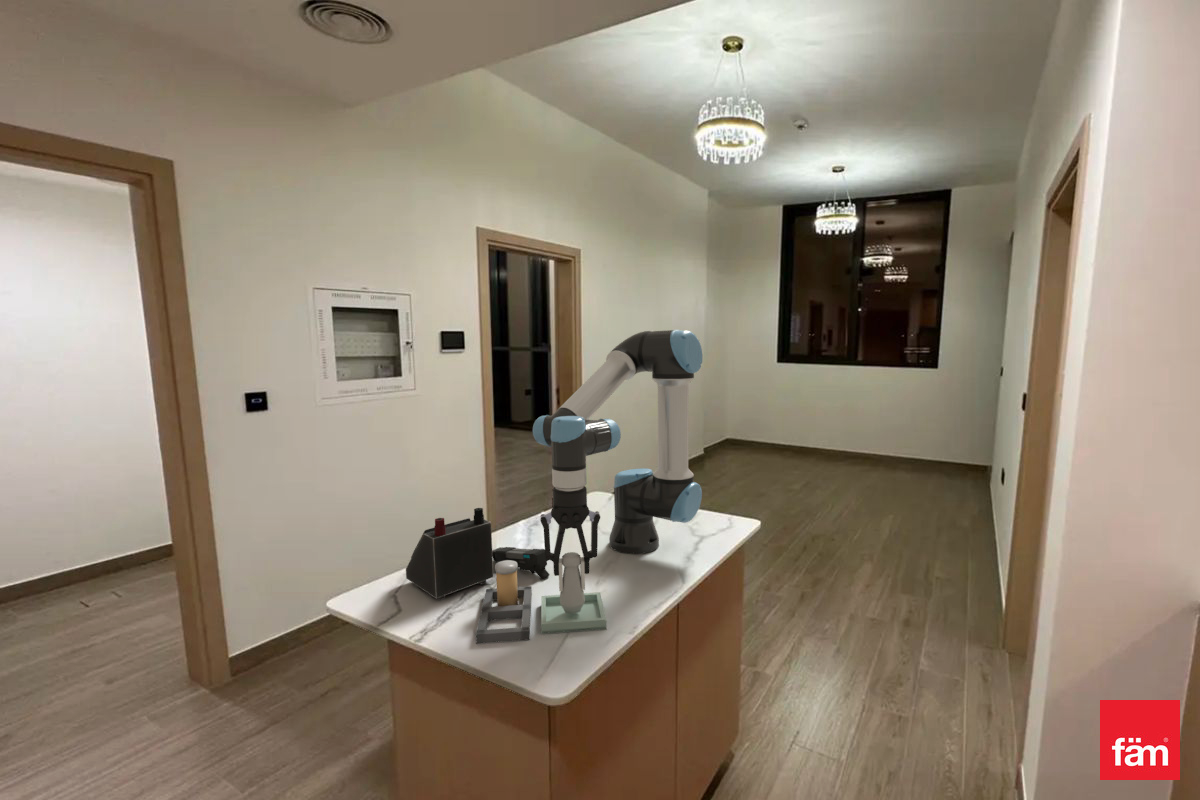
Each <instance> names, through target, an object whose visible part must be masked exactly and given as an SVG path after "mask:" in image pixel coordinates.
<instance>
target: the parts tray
mask: <svg viewBox="0 0 1200 800" xmlns="http://www.w3.org/2000/svg"><path fill="white" fill-rule="evenodd" d="M584 596H585V602H584V604H583V606H582V608H581V611H580V612H578V613H575V614H569V613H565V611H564V609H563V608H562V606H561V604H560V594H554V595H553V594H551V595H541V603H540V604H541V606H540V607H541V608H540V609H541V610H540V611H541V614H540V615H541V616H540V617H541V618H540V621H541V623H540V624H541V627H540V628H541V629H540V631H541V635H545V634H559V633H573V632H587V631H601V630H604V631H605V630H607V627H608V626H607V617H606V612H605V607H604V602H603V599H602V594H601V592H600V591H598V592H584Z"/></svg>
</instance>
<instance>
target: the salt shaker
mask: <svg viewBox="0 0 1200 800" xmlns="http://www.w3.org/2000/svg"><path fill="white" fill-rule="evenodd" d="M581 557H582V556H581V555H580V554H579V553H578V552H574V551H573V552H571V551H570V552H566V553H564V554H563V555H562V556H561V558H562V567H563V571H562V575H563V591H559V592H560V593H559V595H560V604H561V606H562V608H563V609H564V611H565V613H569V614H575V613H578V612H580V611H581V608H582V606H583V604H584V602H585V596H584V593H585V590H582V587H581V570H580V563H581Z"/></svg>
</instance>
